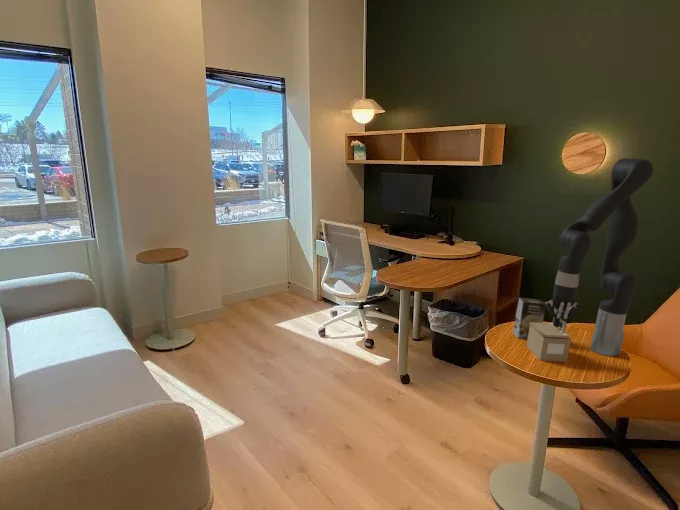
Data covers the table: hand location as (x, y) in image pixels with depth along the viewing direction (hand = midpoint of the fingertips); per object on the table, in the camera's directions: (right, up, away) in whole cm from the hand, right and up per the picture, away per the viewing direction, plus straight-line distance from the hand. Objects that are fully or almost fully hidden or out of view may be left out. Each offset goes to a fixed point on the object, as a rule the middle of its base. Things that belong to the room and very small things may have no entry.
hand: (558, 326), depth 158 cm
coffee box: (-4, -7, +18) cm, 20 cm away
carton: (-4, -11, +3) cm, 12 cm away
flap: (-4, -2, 0) cm, 4 cm away
